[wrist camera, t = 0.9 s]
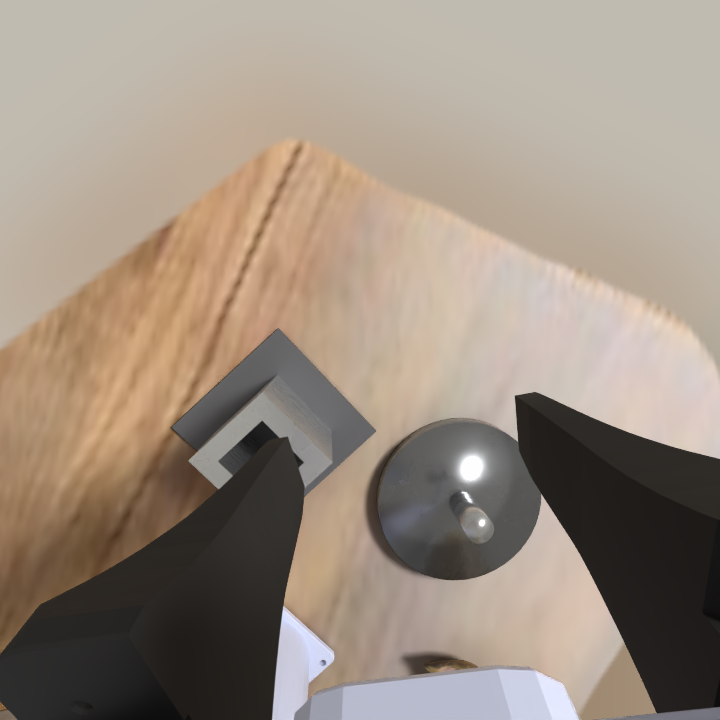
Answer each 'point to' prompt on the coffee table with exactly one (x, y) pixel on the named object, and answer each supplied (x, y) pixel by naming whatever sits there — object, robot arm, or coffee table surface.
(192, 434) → the mat
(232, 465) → the grey hollow cube
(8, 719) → the thermos bottle
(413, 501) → the hub
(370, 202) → the coffee table surface
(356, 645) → the coffee table surface
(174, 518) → the coffee table surface
